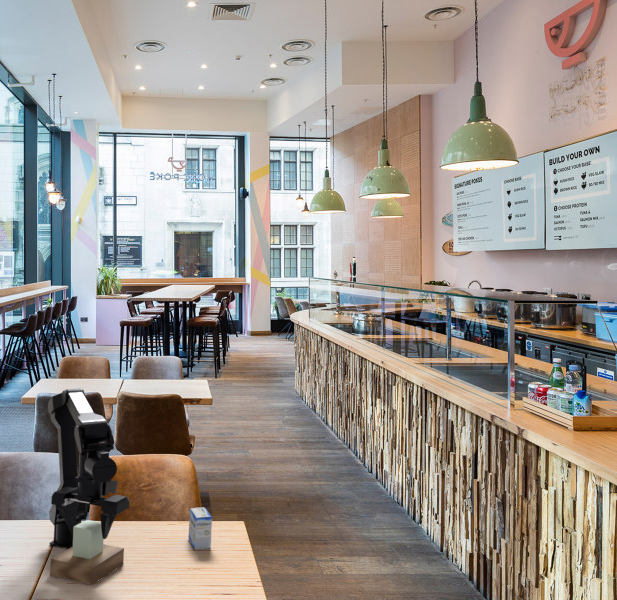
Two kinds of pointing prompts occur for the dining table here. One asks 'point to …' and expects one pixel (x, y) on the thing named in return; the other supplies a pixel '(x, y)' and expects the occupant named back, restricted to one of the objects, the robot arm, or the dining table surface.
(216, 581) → the dining table surface
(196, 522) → the medicine box
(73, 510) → the robot arm
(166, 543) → the dining table surface
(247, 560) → the dining table surface
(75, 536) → the sage block
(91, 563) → the walnut base
